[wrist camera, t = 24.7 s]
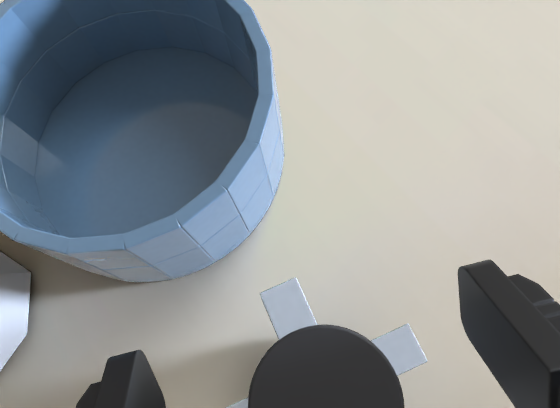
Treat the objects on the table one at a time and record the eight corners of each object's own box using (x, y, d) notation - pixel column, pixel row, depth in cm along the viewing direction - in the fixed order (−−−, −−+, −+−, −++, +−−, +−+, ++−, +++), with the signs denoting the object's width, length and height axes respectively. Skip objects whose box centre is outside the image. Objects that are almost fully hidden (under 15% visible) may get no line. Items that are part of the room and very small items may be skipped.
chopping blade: (228, 499, 20) (114, 668, 9) (223, 294, 23) (130, 223, 12) (435, 489, 20) (591, 651, 9) (405, 281, 23) (494, 193, 11)
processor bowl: (19, 292, 24) (-86, 266, 18) (43, 58, 28) (-35, -30, 22) (292, 271, 23) (283, 236, 17) (276, 34, 27) (263, -63, 21)
